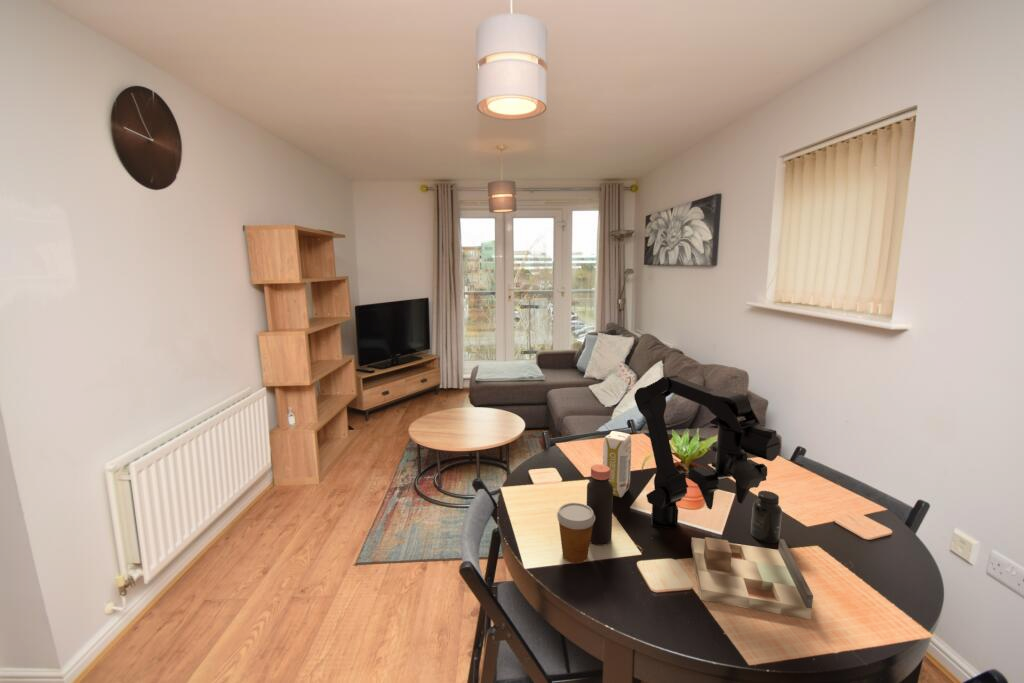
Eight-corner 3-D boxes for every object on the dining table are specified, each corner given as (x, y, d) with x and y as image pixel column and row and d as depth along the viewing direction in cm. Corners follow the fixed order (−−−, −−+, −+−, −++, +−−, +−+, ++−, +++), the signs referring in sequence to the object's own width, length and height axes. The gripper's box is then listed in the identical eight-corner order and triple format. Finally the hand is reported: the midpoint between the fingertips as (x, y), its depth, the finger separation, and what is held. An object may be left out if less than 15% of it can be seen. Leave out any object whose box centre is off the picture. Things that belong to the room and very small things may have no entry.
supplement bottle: (783, 545, 117) (787, 502, 115) (754, 542, 119) (758, 499, 117) (773, 530, 124) (777, 489, 122) (747, 527, 125) (750, 487, 123)
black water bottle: (616, 538, 121) (618, 467, 118) (602, 549, 116) (604, 476, 113) (594, 528, 125) (596, 460, 122) (580, 538, 121) (582, 468, 117)
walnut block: (706, 569, 104) (707, 549, 104) (703, 556, 109) (705, 537, 108) (730, 572, 103) (731, 553, 102) (726, 559, 108) (727, 540, 107)
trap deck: (700, 599, 98) (702, 576, 97) (691, 546, 117) (692, 526, 116) (810, 619, 92) (813, 595, 92) (781, 559, 111) (783, 539, 111)
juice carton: (631, 488, 148) (633, 433, 145) (622, 499, 141) (624, 442, 138) (609, 482, 152) (611, 429, 149) (599, 493, 145) (601, 437, 142)
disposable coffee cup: (585, 572, 107) (586, 526, 105) (549, 559, 112) (550, 514, 110) (600, 551, 115) (601, 508, 113) (566, 540, 120) (566, 498, 118)
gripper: (722, 464, 98) (717, 530, 101) (789, 454, 104) (782, 516, 106) (688, 445, 109) (684, 505, 111) (750, 436, 114) (745, 494, 117)
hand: (724, 505), depth 111 cm, fingers open, 9 cm apart
